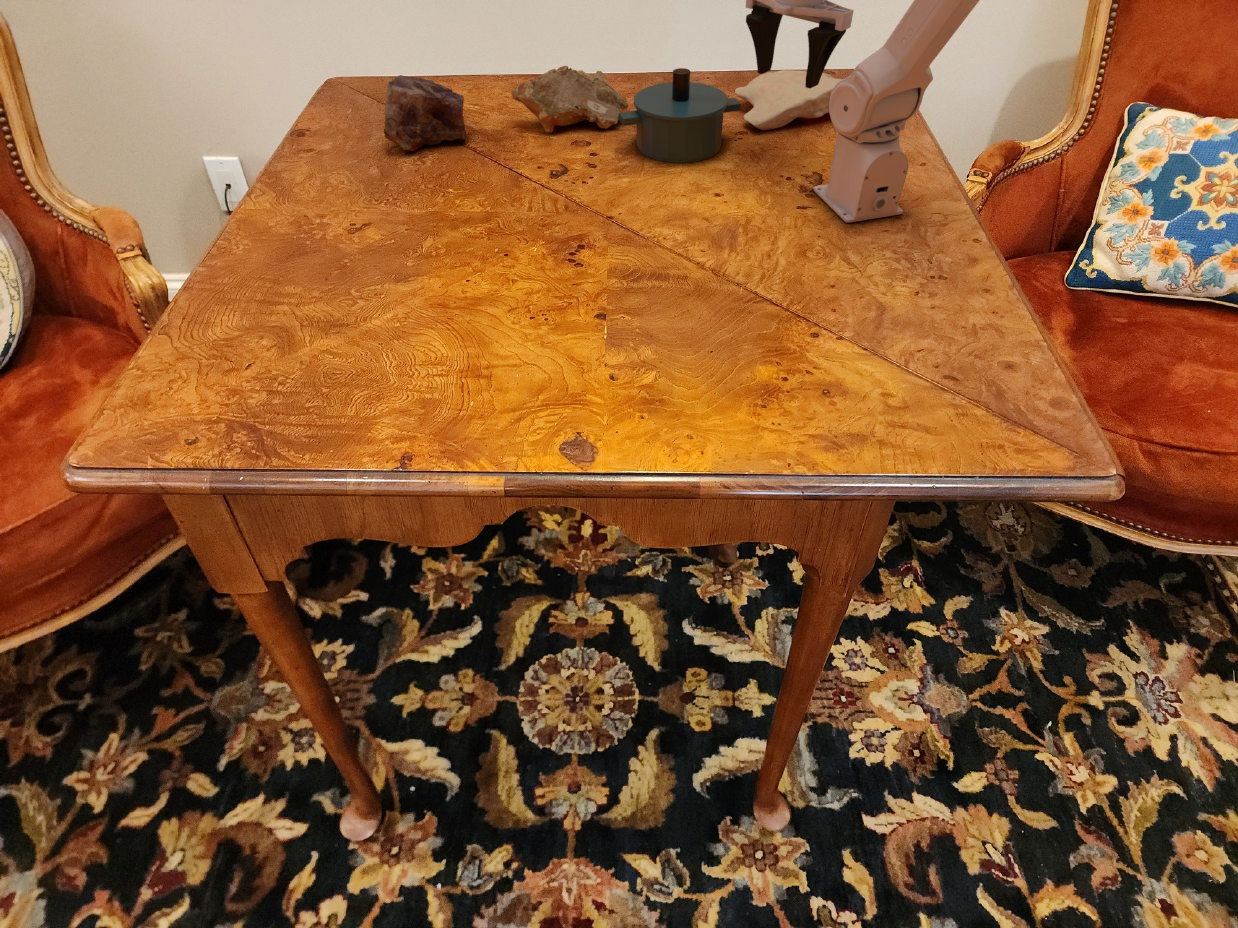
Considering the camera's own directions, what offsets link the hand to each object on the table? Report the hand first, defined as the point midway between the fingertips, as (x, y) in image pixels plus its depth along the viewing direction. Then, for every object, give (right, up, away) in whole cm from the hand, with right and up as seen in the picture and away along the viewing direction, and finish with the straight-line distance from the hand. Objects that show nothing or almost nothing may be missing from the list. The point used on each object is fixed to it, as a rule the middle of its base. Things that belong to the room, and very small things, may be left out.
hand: (787, 79), depth 100 cm
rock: (-51, -3, +13) cm, 52 cm away
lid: (-14, 0, +6) cm, 15 cm away
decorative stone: (+6, +5, +20) cm, 21 cm away
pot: (-14, -4, +11) cm, 18 cm away
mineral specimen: (-30, +2, +17) cm, 34 cm away
